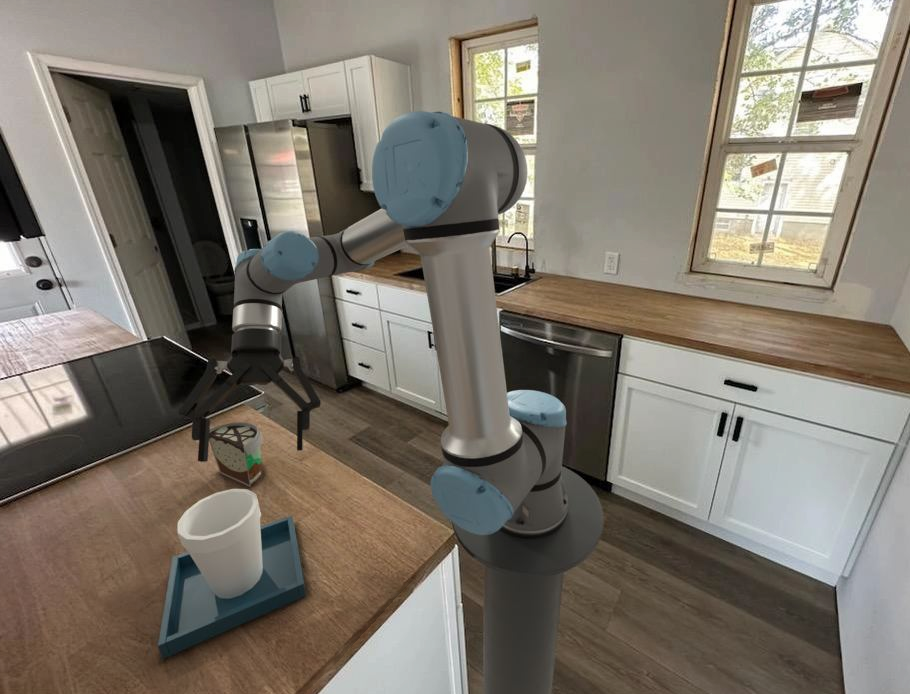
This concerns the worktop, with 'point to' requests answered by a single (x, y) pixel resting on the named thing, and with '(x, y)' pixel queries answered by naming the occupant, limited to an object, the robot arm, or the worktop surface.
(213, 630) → the tray
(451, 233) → the robot arm
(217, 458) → the food container
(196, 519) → the foam cup
